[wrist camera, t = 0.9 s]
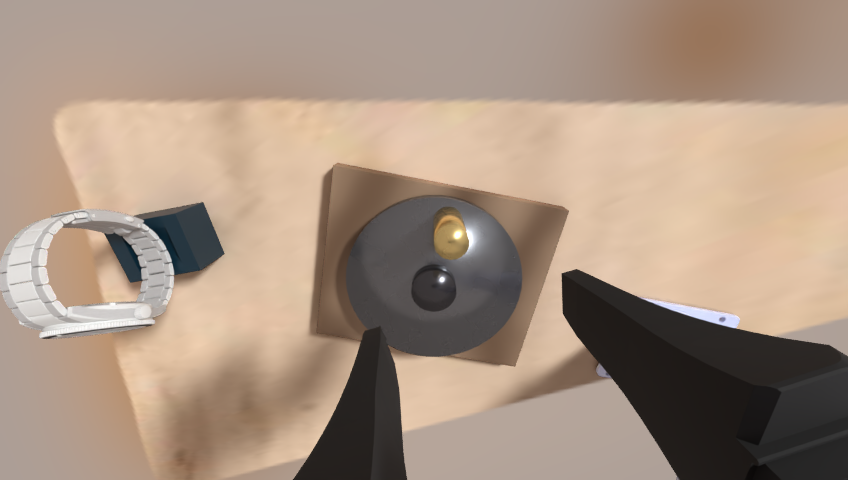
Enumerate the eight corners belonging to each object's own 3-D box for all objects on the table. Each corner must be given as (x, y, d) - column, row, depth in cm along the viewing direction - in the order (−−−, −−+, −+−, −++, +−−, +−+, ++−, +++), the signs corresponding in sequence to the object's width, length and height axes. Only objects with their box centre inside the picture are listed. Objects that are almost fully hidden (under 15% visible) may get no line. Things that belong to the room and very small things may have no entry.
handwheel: (494, 360, 29) (507, 413, 24) (340, 334, 29) (320, 382, 23) (541, 213, 25) (570, 240, 20) (360, 178, 24) (341, 196, 19)
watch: (171, 286, 29) (29, 381, 19) (126, 192, 26) (-70, 244, 16) (234, 275, 29) (124, 367, 18) (194, 179, 26) (39, 223, 16)
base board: (562, 206, 26) (568, 211, 25) (511, 357, 31) (514, 366, 30) (337, 162, 25) (333, 165, 24) (320, 324, 30) (316, 332, 29)
